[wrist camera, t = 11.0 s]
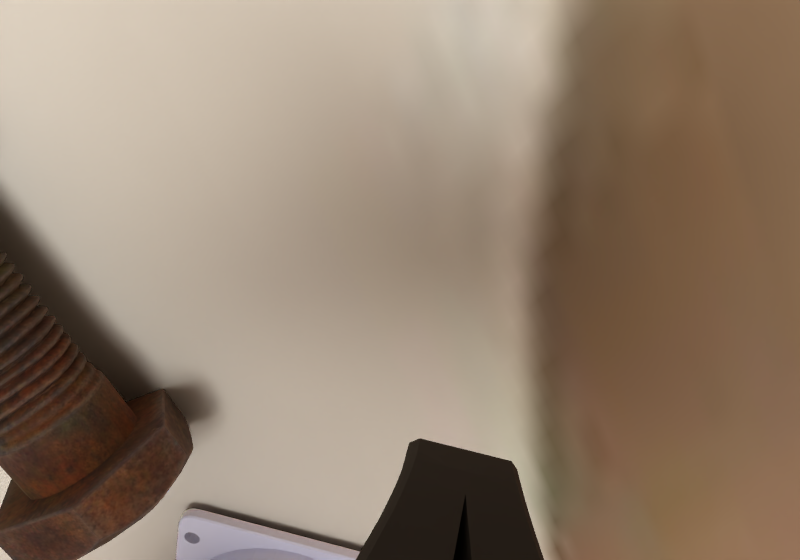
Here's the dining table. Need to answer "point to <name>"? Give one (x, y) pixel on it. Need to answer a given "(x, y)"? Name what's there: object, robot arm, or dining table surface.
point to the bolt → (73, 439)
